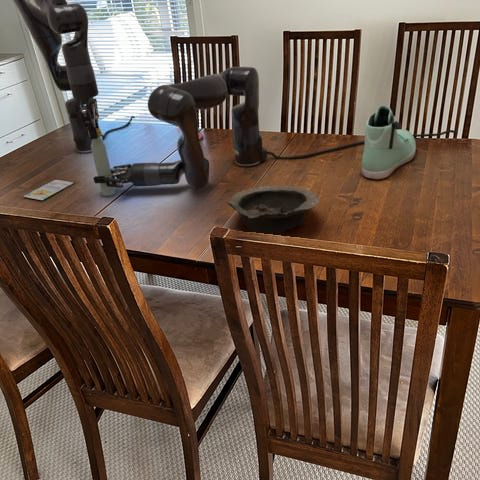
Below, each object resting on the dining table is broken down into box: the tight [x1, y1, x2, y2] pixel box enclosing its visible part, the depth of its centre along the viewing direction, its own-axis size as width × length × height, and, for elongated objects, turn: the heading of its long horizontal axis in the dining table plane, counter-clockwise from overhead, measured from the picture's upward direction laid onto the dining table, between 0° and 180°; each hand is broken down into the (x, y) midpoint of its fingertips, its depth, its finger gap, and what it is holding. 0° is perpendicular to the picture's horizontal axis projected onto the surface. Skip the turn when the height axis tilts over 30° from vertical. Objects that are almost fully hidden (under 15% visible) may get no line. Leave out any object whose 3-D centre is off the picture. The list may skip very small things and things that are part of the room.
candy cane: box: [198, 132, 204, 141], centre depth 196 cm, size 6×15×2 cm, turn 145°
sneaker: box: [361, 105, 417, 180], centre depth 160 cm, size 14×34×20 cm, turn 152°
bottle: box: [91, 136, 116, 197], centre depth 154 cm, size 4×4×21 cm
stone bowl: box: [226, 184, 320, 236], centre depth 133 cm, size 25×25×9 cm
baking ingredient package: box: [23, 179, 74, 201], centre depth 165 cm, size 9×1×15 cm
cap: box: [88, 127, 103, 138], centre depth 149 cm, size 4×4×2 cm
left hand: (95, 136), depth 149 cm, fingers closed on cap, 3 cm apart
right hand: (96, 176), depth 157 cm, fingers closed on bottle, 4 cm apart
